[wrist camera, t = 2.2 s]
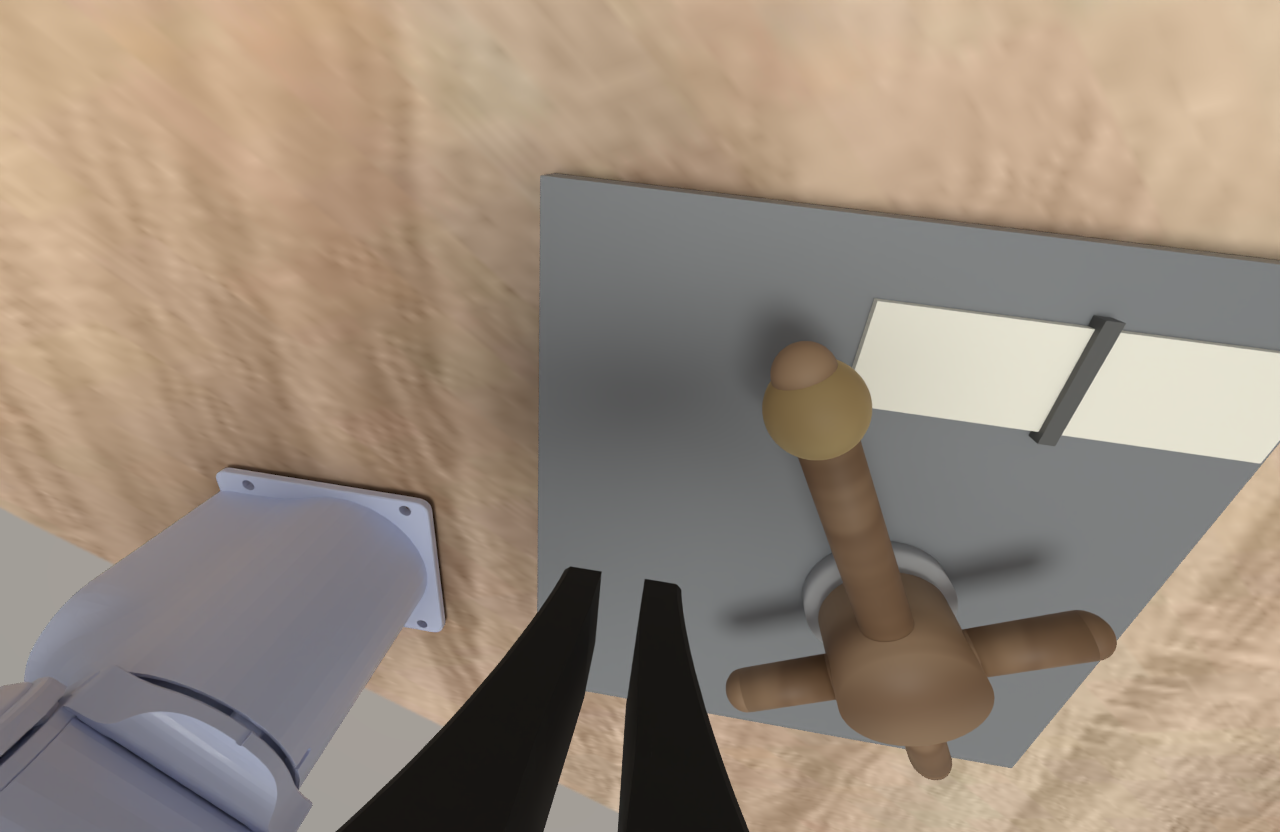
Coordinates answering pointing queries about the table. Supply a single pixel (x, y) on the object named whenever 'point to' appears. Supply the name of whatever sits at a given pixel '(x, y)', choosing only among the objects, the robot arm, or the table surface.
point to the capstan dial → (887, 594)
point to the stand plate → (884, 421)
